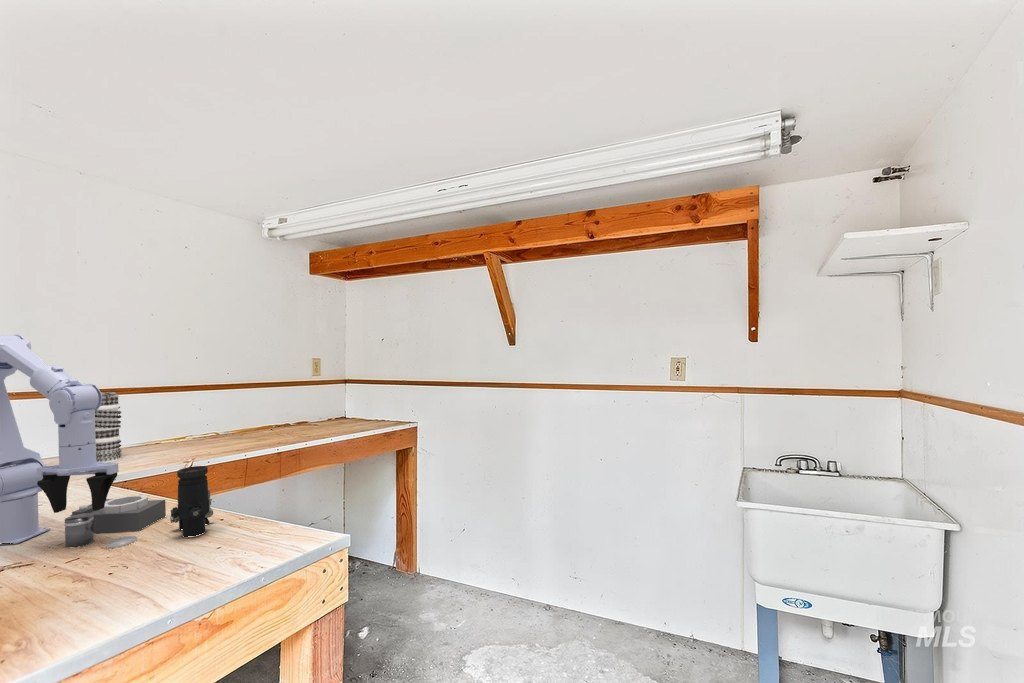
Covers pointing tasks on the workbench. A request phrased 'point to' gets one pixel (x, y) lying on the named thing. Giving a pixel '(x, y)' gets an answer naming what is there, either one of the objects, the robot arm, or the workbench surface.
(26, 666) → the workbench surface
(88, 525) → the lens
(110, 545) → the grey domed disc
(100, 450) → the decorative candle
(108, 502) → the camera body
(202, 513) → the scope
